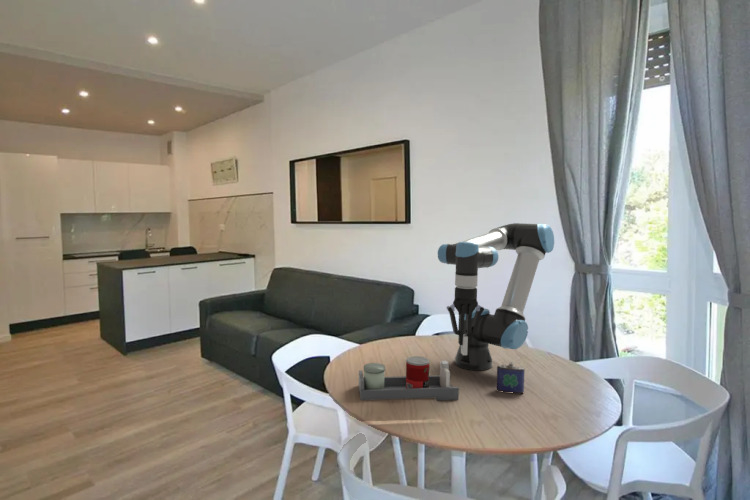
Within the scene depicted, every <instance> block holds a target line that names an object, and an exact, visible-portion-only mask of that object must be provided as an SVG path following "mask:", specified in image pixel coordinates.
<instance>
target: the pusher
mask: <svg viewBox="0 0 750 500" xmlns="http://www.w3.org/2000/svg"><path fill="white" fill-rule="evenodd" d="M449 365H450V363H449V362H448V360H440V362H439V375H440V386H441V387H450V385H451V371H450V370H449V369H450V367H449Z"/></svg>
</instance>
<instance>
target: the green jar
mask: <svg viewBox="0 0 750 500" xmlns="http://www.w3.org/2000/svg"><path fill="white" fill-rule="evenodd" d="M385 371H386V366H385V365H384V364H383V363H379V362H370V363H365V364H364V365H363V377H364V390H373V389H384V377H385V374H386V373H385Z"/></svg>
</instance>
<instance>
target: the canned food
mask: <svg viewBox="0 0 750 500" xmlns="http://www.w3.org/2000/svg"><path fill="white" fill-rule="evenodd" d="M405 363H406V364H405V376H406V388H429V376H430V359H428V358H427V357H424V356H409V357H407V358H406V360H405Z"/></svg>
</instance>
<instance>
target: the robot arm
mask: <svg viewBox="0 0 750 500" xmlns="http://www.w3.org/2000/svg"><path fill="white" fill-rule="evenodd" d="M554 246H555V235H554V231H553V229H552V227H551V226H550V225H549V224H546V223H545V224H544V223H538V222H537V223H518V222H517V223H515V222H514V223H508V224H504V225H501V226H498V227H495V228H491V230H490V231H488V233H487V232H486V233H484V234H481V235H478V236H476V237H472V238H470V239H466V240H462V241H459V242H455V243H447V244H446V243H445V244H444V243H443V244H441V245H440V246H439V247H438V249H437V259H438V260H439V262H440V263H442V264H446V265H455V272H454V273H455V274H454V275H455V277H454V279H455V280H454V285H455V287H454V300H453V302H452V304H451V305H448V306H446V310H447V311H448V313H449V318H450V323H451V327H452V331H453V333H454V334H455V335H457V336H458V344H459V346H458V349H457V352H456V354H455V357H454V363H455V365H456V366H458V367H459V368H461V369H465V370H470V371H486V370H489V369H491V368H493V358H492V355H491V352H490V348H489V345H493V346H496V347H501V348H502V349H507V350H508V349H509V350H518V349H520V348H521V347H522V346H523V345H524V344H525V342H526V340H527V337H528V333H529V331H528V330H529V326H528V323H527V321H526V317H525V315H524V311H525V308H526V304H527V300H528V297H529V296H530V291H531V288H532V285H533V281H534V278H535V275H536V272H537V268H538V266H539V262H540V261H542V260H544V259H545V256H546V253H547V254H549V253H551V252H553V251H554V248H555V247H554ZM501 250H512V251H515V252H516V254H517V257H516V259H515V263H514V266H513V269H512V273H511V274H510V279H509V280H508V284H507V286H506V290H505V293H504V296H503V300H502V303H501V305H500V307H498V308H496V309H495V312H494V314H491V311H490V309H488V308H484V307H483V306H482V305H480V304H479V302H478V300H477V299H478V288H477V287H478V275H479V273H478V270H479V269H482V268H483V269H484V268H485V269H488V268H490V267H494V266H495V265H496V264H497V263H498V261H499V253H498V251H501ZM455 310H456V311H457V312H458V314H457V315H458V323H457V320H456V319H457V318H456V316H455V315H456V314H455Z"/></svg>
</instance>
